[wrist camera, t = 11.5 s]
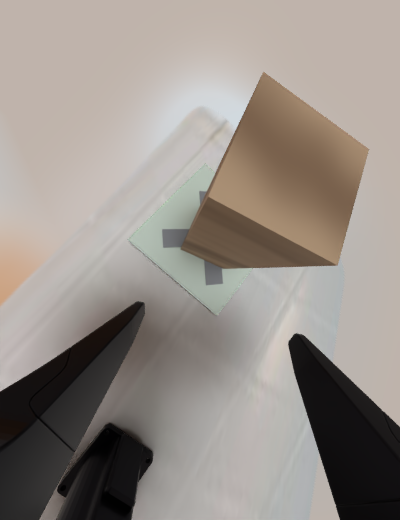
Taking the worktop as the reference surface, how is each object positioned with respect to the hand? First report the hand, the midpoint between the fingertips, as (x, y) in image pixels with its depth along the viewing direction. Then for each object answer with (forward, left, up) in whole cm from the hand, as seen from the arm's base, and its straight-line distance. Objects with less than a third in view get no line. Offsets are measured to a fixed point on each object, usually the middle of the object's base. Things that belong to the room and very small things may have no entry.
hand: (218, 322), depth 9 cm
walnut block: (+7, +3, -9) cm, 12 cm away
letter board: (+7, +3, -10) cm, 13 cm away
